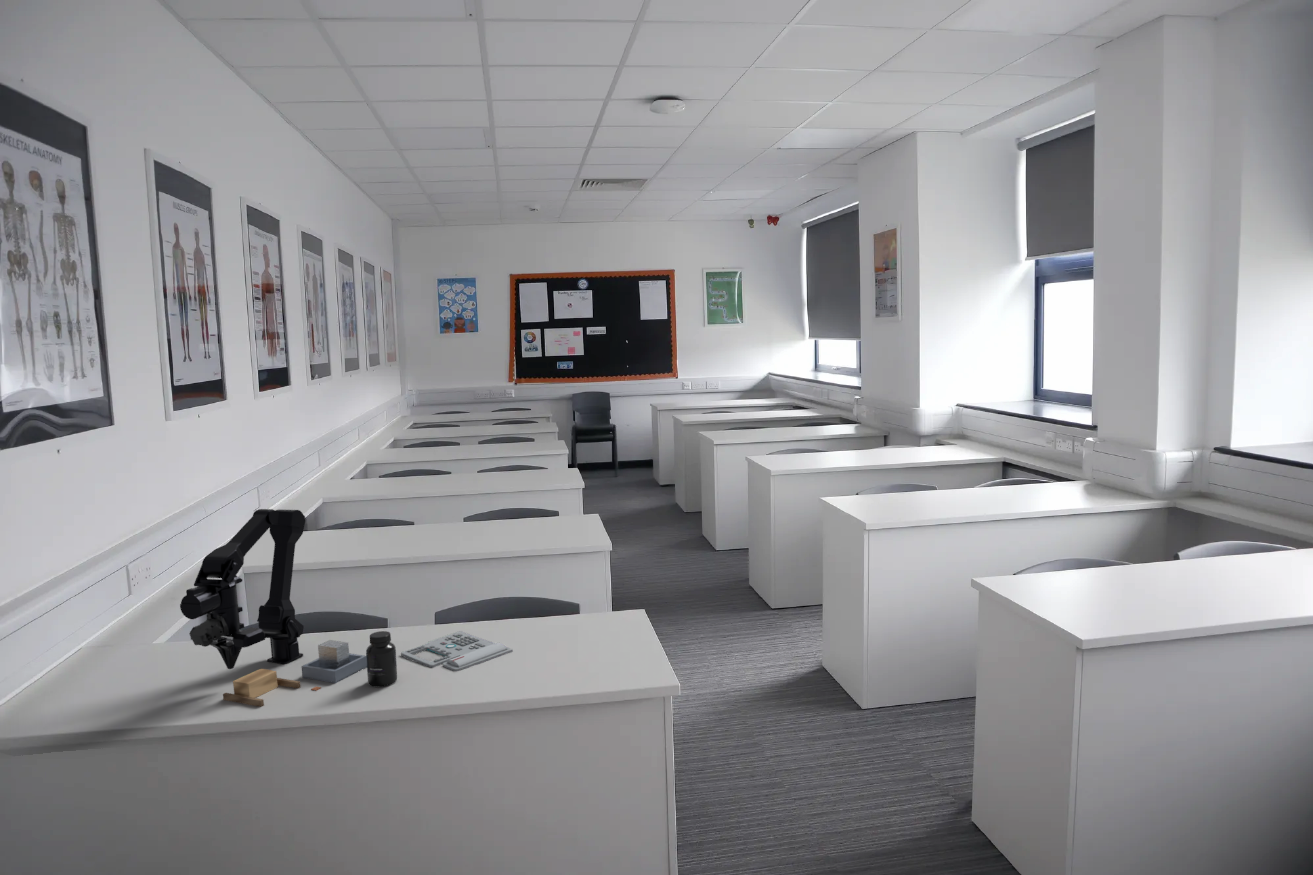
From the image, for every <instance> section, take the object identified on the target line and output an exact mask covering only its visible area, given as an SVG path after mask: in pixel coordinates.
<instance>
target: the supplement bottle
mask: <svg viewBox="0 0 1313 875" xmlns="http://www.w3.org/2000/svg"><path fill="white" fill-rule="evenodd" d="M391 634H392V633H391V632H390V631H387V630H383V631H382V630H381V631H375V632H372V633H371V634H370V635H369V645H368V646H367V648H366V649H365V650H366V651H365V656H366V659H367V668H366V673H367V674H366V675H367V684H368V685H369V686H371V687H373V688H374V687H375V688H382V687H388V686H391V685H393V684H395V683H396V682H397V680H398V668H397V666H398V664H397V650H396V645H395V644H394V643H393V642H391V641H392V637H391Z"/></svg>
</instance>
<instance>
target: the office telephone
mask: <svg viewBox="0 0 1313 875" xmlns="http://www.w3.org/2000/svg"><path fill="white" fill-rule="evenodd" d="M424 650H425V651H429V650H430V651H429V652H432V653H435V652H436V654H438V655H440V656H443V657H440V658H437V659H435V660H431V661H430V660H428V659H425V658H423V657H420V656H417V654H419V653H418V652H420V653H422V651H423V652H425V651H424ZM512 652H513V648H510V647H508V646H507V645H506V644H504V643H502V642H493V641H490V640H488V639H484V638H482V637H478V636H476V635H472V634H470V633H467V632H465V631H463V630H459V631H455V632H453V633H450V634H447V635H444V636H441V637H438V638H435V639H432V640H430V641H428V642H427V643H424V644H422V645H419V646H416V647H414V648H411V649H408V650H404V651H400V655H401V657H402V656H403V658H404V659H407V658H408V659H407V660H410V661H412V660H413V662H415V663H417V662H419V663H418V664H420V665H423V666H426V667H428V666H429V667H428V668H431V669H432V668H435V667H438V666H441V665H442V667H443V668H446V669H448V670H451V671H453V672H459V671H463V670H465V669H467V668H470V667H473V666H476V665H478V664H479V665H480V664H481V663H485V662H487V661H490V660H493V659H495V658H498V657H501V656H504V655H506V654H510V653H512ZM416 653H417V654H416ZM413 654H414V655H413ZM440 664H441V665H440Z"/></svg>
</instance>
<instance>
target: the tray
mask: <svg viewBox="0 0 1313 875" xmlns="http://www.w3.org/2000/svg"><path fill="white" fill-rule="evenodd" d="M349 659H350V663H348V664H346V665H344V666H342V667H340V668H338V669H336V670H333V669H326V668H320V664H319V657H318V658H316V659H314V660H312V661H310V662H307V663H305V664H303V665H301V667H300V668H301V676H302V679H309V680H314V681H321V682H327V683H332V684H333V683H334V684H337V683H339V682H341V681H343V680H344V679H347V678H349V677H352V676H353V675H355V674H356V673H359V672H361V671H362V669H363V670H364V669H367V659H366V654H365V655H363V654H357V653H356V654H355V653H350V652H349ZM358 671H359V672H358Z"/></svg>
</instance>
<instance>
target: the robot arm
mask: <svg viewBox="0 0 1313 875" xmlns="http://www.w3.org/2000/svg"><path fill="white" fill-rule="evenodd" d="M305 525H306V516H305V515H304V514H303V512H302V511H301V510H299V509H272V508H259V509H256V510H255V511H254V512H253V513H252V517H251V518H250V519H249V520H247V522H246V523H245V524H244V525H243V526H242V527H241V528H240V529H239V530H238V532H236V533H235V535H234V536H233V537H232V538H231V539H230V540H229V541H228V542H227V543H225V544H224V545H222V546H220V547H216V548H215V549H214V550H212V551H211V552H210V553H208V554H206V556H205V557H204V558H203V560H202V562H201V563H202V564H201V566H200V567H199V568H200V569H199V571H198V573H197V575H196V578H195V580H194V582H193V586H194V587H193V588H189V589H186V592H185V593H186V595H184V596H183V597H182V599H181V600H180V604H179V607H180V608H179V609H180V611H181V613H182V615H183V616H184V617H185V618H187V619H189V620H196V619H197V618H200V617H203V616H206V620H205V621H203V622H201V623H200V624H198V625H195V626H193V627H192V628H191V630H190V631H189V636H190V640H191V641H192V643H193V645H194V646H202V647H204V648H205V647H209V646H212V647H213V648H215V649H216V650H217V651H218V653H219V654H220V656H221V658H222V660H223V662H224V664H225V666H226V669H228V670H232V669H234V668H235V666H236V663H237V661H238V658H239V655H240V653H241V651H242V649H243V648H249V647H251V646H254V645H255V644H258V643H260V642H262V641H265V640H266V639H269V641H270V642H269V644H270V651H271V652H270V653H271V657H269V658H267V660H266V661H267V662H269V663H275V664H276V663H277V664H282V665H283V664H284V665H287V664H288V663H290V662H293V661H294V660H298V659H300V658H301V657H304V653H301V652H300V647H299V641H298V638H301V635H303V634H304V629H305V628H304V627H305V626H304V625H303V624H302V623H301V622H300V621H298V619H296V609H295V606H294V605H293V602H291V599H290V598H291V591H292V580H293V570H294V561H295V560H294V559H295V550H296V544H297V542H298V541H299V540H300V538H301V537H302V535H303V533H304V529H305ZM268 530H269V534H270V536H271V538H272V540H273V542H274V546H273V547H274V550H273V558H272V565H271V576H270V585H269V593H268V594H269V596H268V599H267V600H266V602H265V604H264V605H260V606H259V608H258V616H257V620H256V621H257V622H258V628H257V627H248V628H245V623H241V621H240V613H241V612H243V607H242V606H239V603H238V602H239V601H238V600H239V599H238V591H237V585H238V584H240V583H242V582H243V578H241V577H239V576H238V573H239V571H241V568H242V567H243V566H244V564H245V561H244V560H245V556H246V555H247V553H249V551H250V550H251V549H252V548H253V547H254V545H255V544H256V543H257V542H258V541H259V540H260V539H261V538H262V537H263V536H264V535H265V533H266V532H267V531H268ZM244 628H245V629H244ZM242 629H244V630H242Z"/></svg>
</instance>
